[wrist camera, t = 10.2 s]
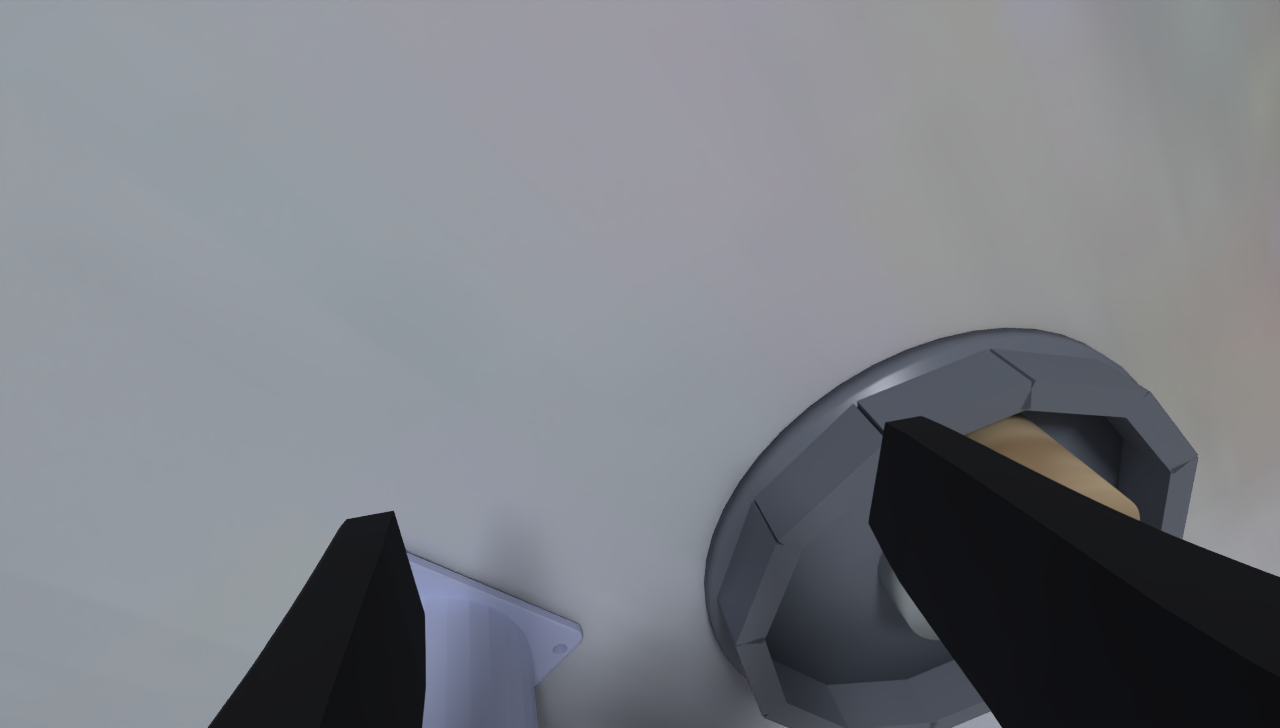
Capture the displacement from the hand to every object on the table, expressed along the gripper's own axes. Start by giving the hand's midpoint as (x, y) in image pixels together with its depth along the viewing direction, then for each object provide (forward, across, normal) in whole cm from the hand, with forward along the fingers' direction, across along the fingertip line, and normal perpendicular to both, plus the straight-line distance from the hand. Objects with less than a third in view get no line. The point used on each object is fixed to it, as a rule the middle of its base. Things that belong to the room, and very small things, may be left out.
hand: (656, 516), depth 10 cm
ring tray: (+9, -13, +13) cm, 20 cm away
